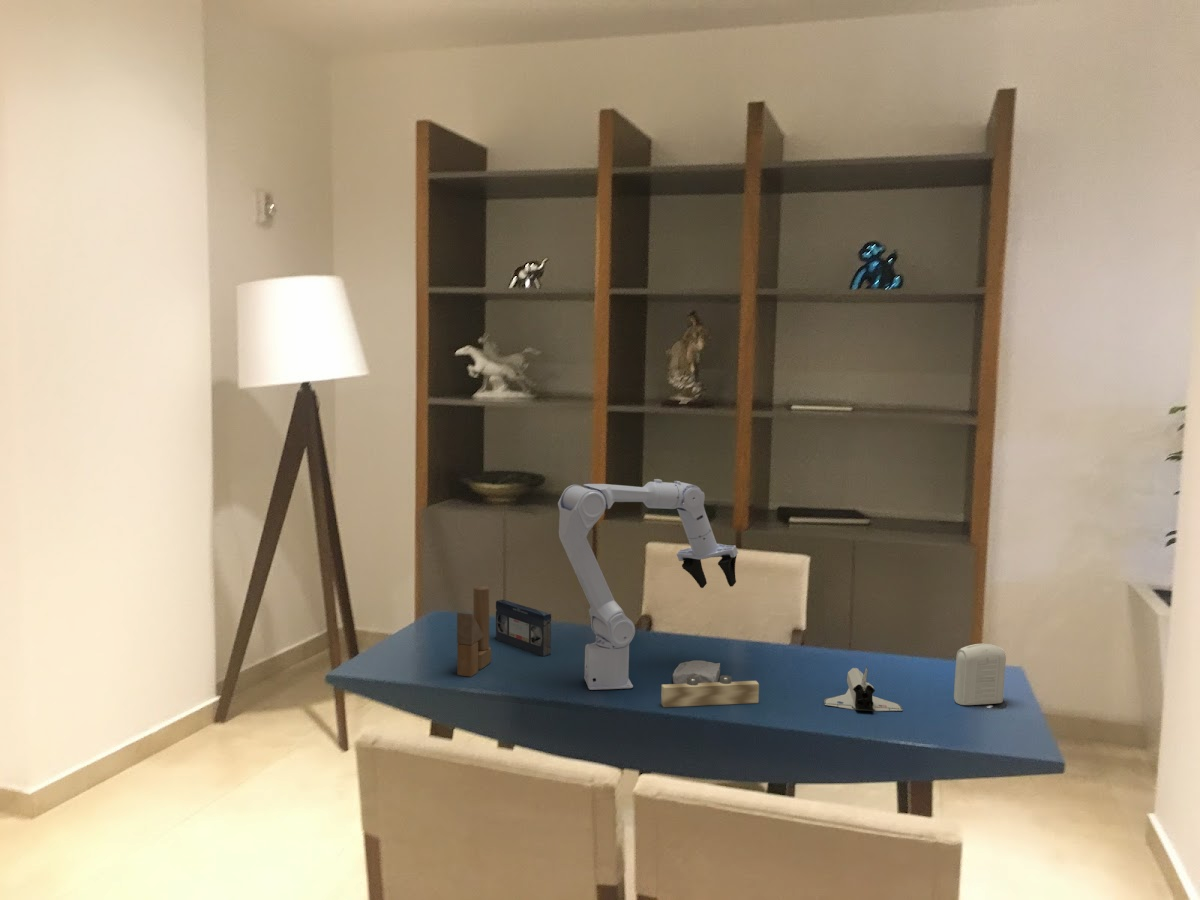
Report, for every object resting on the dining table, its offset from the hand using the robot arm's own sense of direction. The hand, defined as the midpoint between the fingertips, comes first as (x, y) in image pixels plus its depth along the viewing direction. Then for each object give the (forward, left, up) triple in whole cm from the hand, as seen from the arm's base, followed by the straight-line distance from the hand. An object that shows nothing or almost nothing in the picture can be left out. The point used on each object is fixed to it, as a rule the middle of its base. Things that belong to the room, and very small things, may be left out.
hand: (718, 585), depth 214 cm
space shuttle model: (+26, -20, -20) cm, 38 cm away
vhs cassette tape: (-43, +20, -20) cm, 51 cm away
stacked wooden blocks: (-55, +5, -19) cm, 58 cm away
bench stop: (-8, -22, -19) cm, 30 cm away
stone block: (-7, -9, -20) cm, 23 cm away
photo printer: (+48, -28, -19) cm, 59 cm away
